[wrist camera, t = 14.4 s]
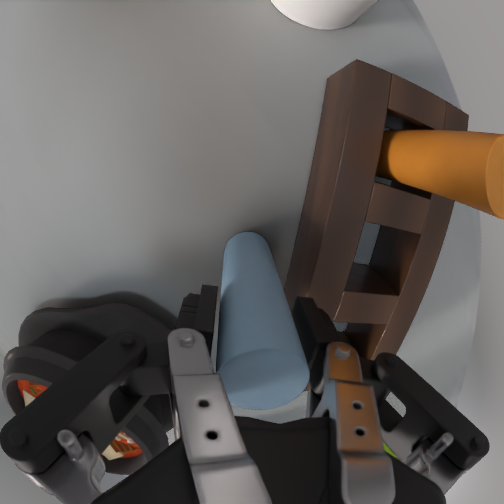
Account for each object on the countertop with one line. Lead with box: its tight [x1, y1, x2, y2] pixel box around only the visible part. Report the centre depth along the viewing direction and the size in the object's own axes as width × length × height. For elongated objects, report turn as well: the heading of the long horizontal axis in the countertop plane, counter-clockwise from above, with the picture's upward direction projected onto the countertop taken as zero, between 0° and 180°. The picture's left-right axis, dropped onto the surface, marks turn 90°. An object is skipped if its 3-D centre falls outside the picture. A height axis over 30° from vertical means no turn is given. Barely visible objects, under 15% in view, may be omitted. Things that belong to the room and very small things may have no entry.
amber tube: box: [375, 130, 504, 219], centre depth 12 cm, size 3×3×12 cm
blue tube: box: [216, 232, 310, 410], centre depth 14 cm, size 3×3×12 cm
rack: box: [284, 59, 469, 391], centre depth 18 cm, size 9×21×5 cm, turn 170°
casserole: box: [2, 302, 174, 475], centre depth 20 cm, size 25×19×8 cm
